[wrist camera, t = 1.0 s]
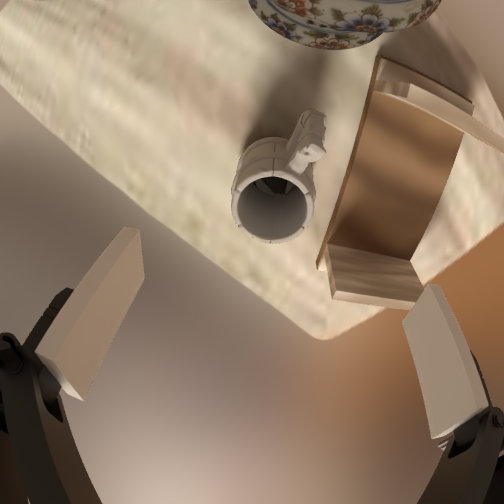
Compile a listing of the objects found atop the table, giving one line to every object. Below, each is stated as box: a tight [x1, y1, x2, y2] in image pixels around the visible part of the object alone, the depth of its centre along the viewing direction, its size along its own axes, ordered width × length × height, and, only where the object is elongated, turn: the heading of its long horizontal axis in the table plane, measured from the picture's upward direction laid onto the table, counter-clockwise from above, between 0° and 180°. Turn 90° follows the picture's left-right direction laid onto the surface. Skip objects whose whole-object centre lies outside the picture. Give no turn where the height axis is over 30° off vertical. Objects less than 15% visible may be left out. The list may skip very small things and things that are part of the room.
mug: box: [231, 109, 326, 244], centre depth 23 cm, size 8×12×12 cm, turn 154°
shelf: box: [316, 55, 504, 310], centre depth 24 cm, size 26×12×10 cm, turn 171°
